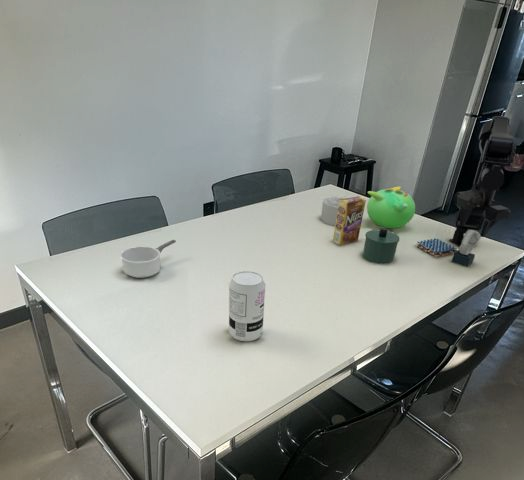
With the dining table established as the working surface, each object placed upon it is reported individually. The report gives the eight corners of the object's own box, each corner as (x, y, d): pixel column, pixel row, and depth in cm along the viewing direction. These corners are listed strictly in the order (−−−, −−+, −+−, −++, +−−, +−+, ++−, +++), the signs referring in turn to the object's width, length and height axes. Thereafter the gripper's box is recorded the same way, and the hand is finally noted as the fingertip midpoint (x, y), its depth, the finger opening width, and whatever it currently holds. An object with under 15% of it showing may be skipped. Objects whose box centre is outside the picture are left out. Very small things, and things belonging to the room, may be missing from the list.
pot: (382, 250, 159) (386, 230, 155) (399, 262, 152) (404, 241, 148) (357, 253, 156) (360, 233, 152) (373, 265, 148) (377, 245, 144)
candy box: (340, 246, 160) (347, 202, 151) (332, 241, 163) (338, 198, 154) (358, 241, 165) (366, 199, 156) (350, 237, 167) (357, 195, 159)
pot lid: (386, 231, 156) (388, 221, 154) (405, 244, 148) (408, 233, 146) (358, 234, 153) (360, 224, 150) (376, 247, 144) (378, 236, 142)
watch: (474, 261, 155) (485, 230, 149) (465, 268, 150) (476, 236, 144) (458, 256, 158) (468, 225, 152) (449, 263, 153) (458, 231, 146)
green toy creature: (415, 225, 181) (425, 187, 173) (401, 238, 169) (411, 198, 161) (372, 215, 189) (379, 178, 180) (356, 226, 177) (363, 188, 168)
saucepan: (189, 261, 144) (188, 244, 141) (141, 284, 130) (139, 266, 127) (162, 251, 149) (161, 235, 146) (113, 272, 135) (111, 254, 132)
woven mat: (436, 258, 156) (437, 252, 155) (414, 246, 163) (415, 241, 162) (458, 253, 160) (459, 248, 159) (435, 242, 167) (437, 237, 166)
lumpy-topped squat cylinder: (343, 228, 175) (347, 205, 170) (315, 220, 181) (317, 197, 176) (356, 221, 181) (360, 199, 176) (328, 213, 188) (331, 192, 183)
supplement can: (228, 324, 115) (228, 270, 106) (261, 324, 116) (264, 270, 107) (229, 343, 108) (229, 286, 100) (263, 342, 109) (267, 286, 101)
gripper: (446, 174, 143) (433, 223, 152) (489, 192, 129) (472, 245, 138) (474, 173, 147) (459, 220, 156) (519, 190, 133) (500, 241, 142)
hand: (471, 231), depth 148 cm, fingers open, 9 cm apart
